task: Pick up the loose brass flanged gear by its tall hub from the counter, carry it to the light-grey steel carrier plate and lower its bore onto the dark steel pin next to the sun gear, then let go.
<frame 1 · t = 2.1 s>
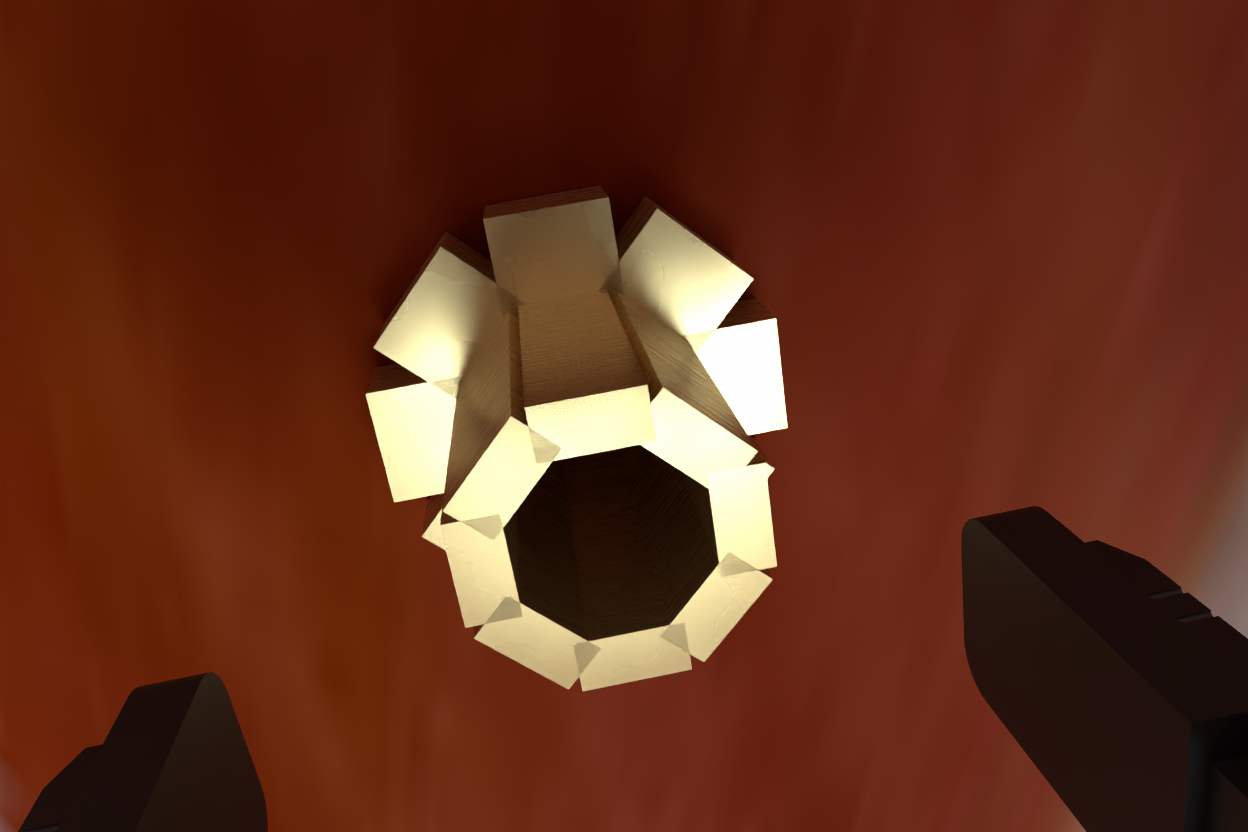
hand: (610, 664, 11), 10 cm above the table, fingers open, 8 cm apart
gear: (577, 384, 20), on the table
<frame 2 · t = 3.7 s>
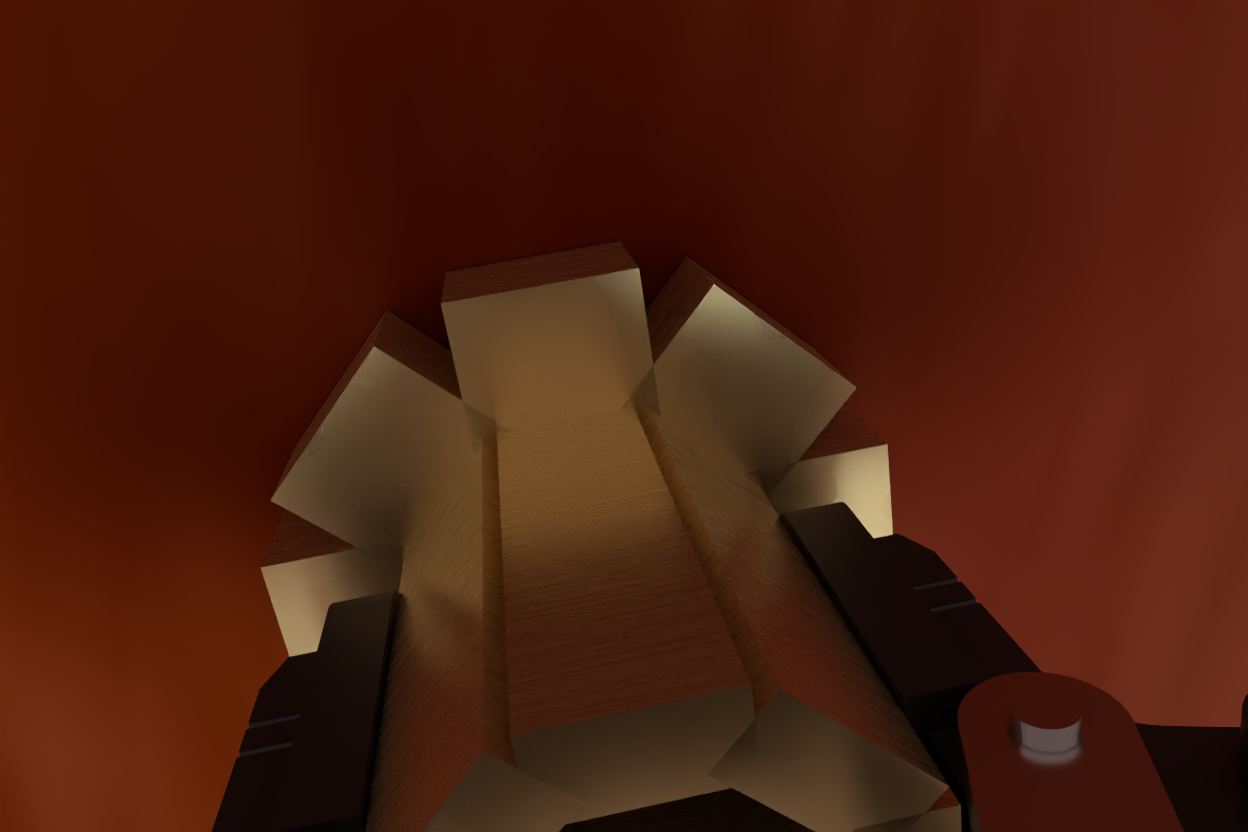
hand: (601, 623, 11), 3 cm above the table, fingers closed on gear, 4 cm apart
gear: (583, 525, 14), on the table, touching gripper
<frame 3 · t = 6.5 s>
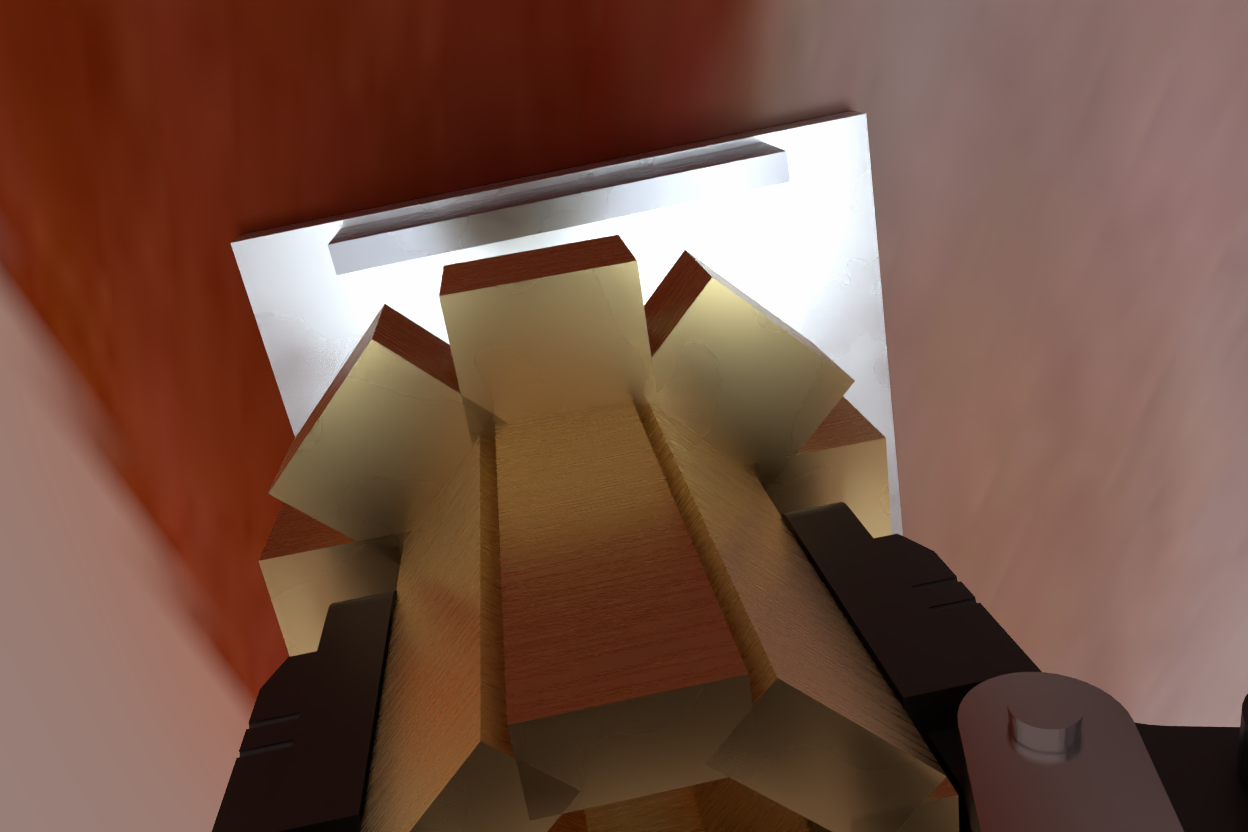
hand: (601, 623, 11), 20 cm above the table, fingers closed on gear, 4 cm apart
gear: (581, 519, 14), point 17 cm above the table, touching gripper
carrier: (616, 493, 33), on the table
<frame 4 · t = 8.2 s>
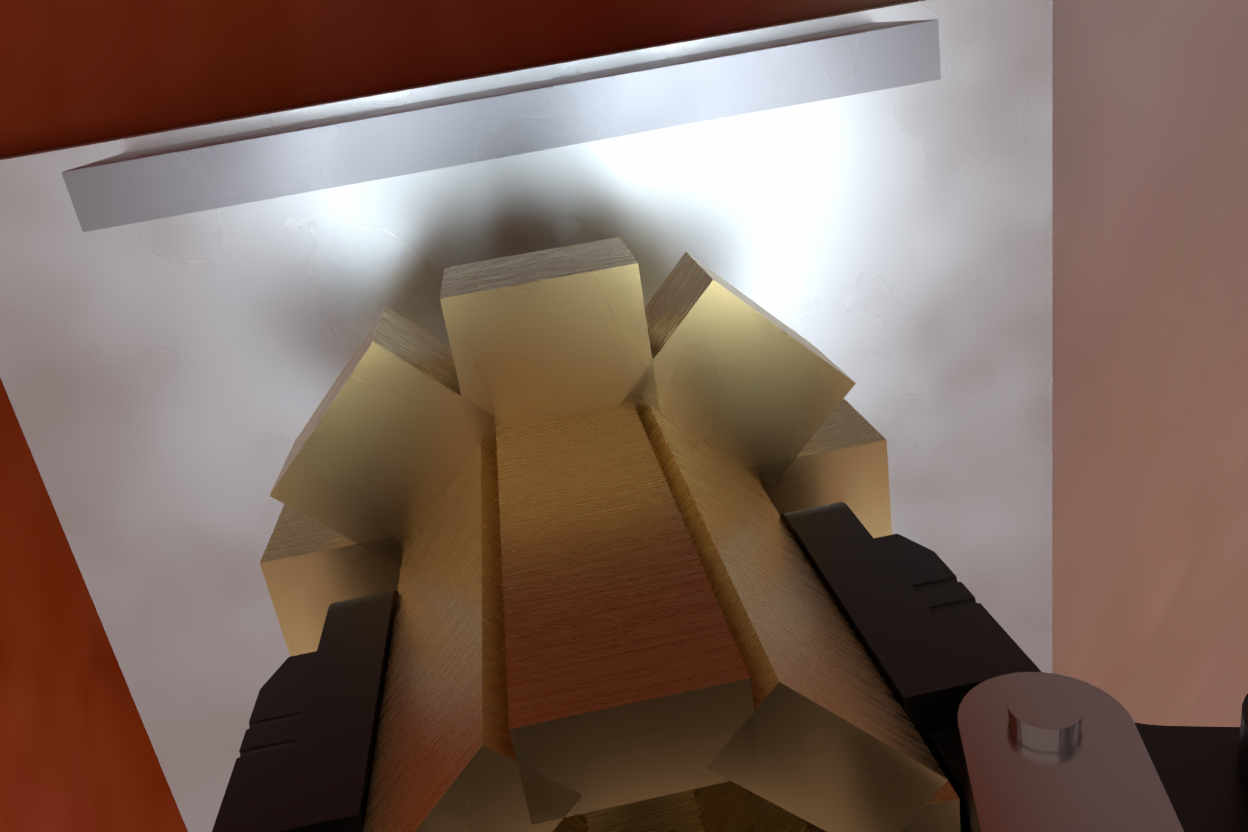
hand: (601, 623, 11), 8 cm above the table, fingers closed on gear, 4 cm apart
gear: (582, 521, 14), point 5 cm above the table, touching gripper
carrier: (606, 602, 21), on the table
when the fingers open (6 cm above the table, at t = 9.4 s): gear drops 2 cm, resting on carrier.
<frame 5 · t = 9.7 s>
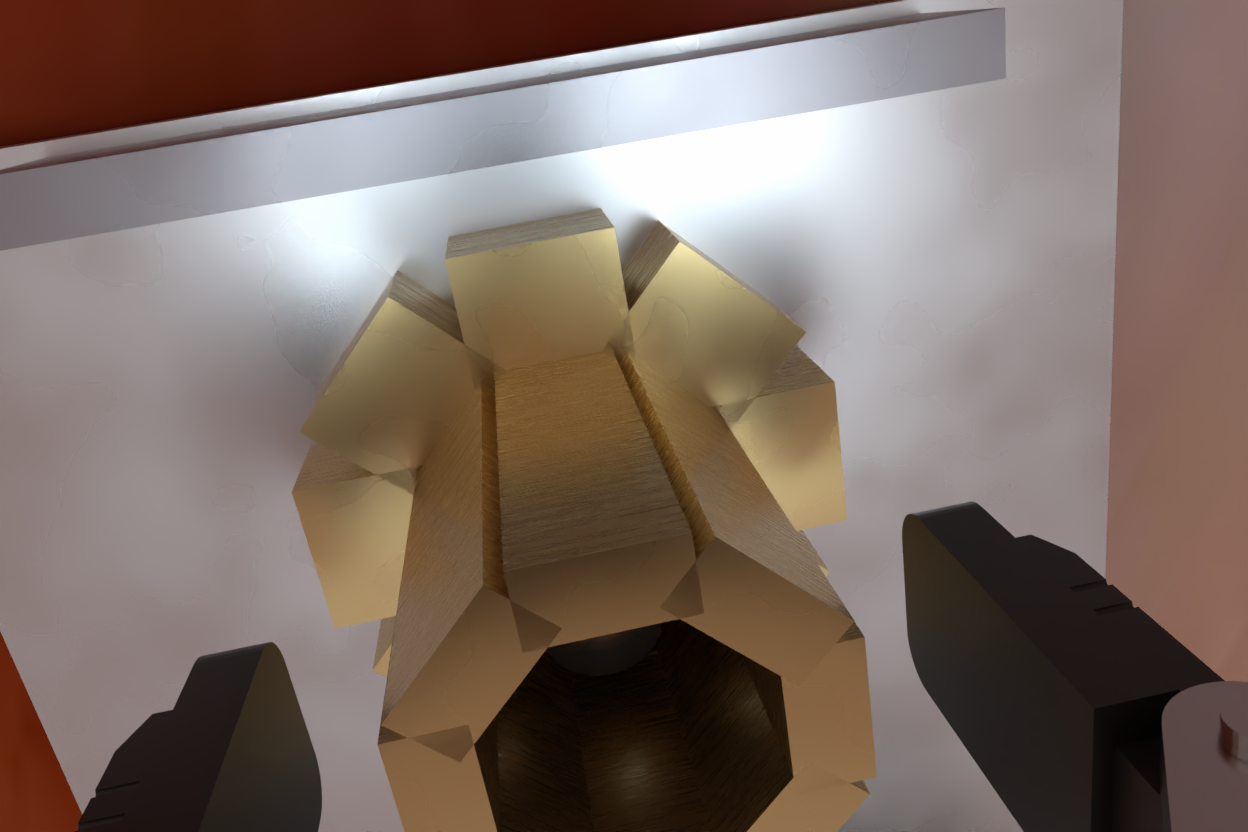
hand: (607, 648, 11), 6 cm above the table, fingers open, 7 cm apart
gear: (572, 462, 16), point 1 cm above the table, touching carrier
carrier: (604, 663, 18), on the table
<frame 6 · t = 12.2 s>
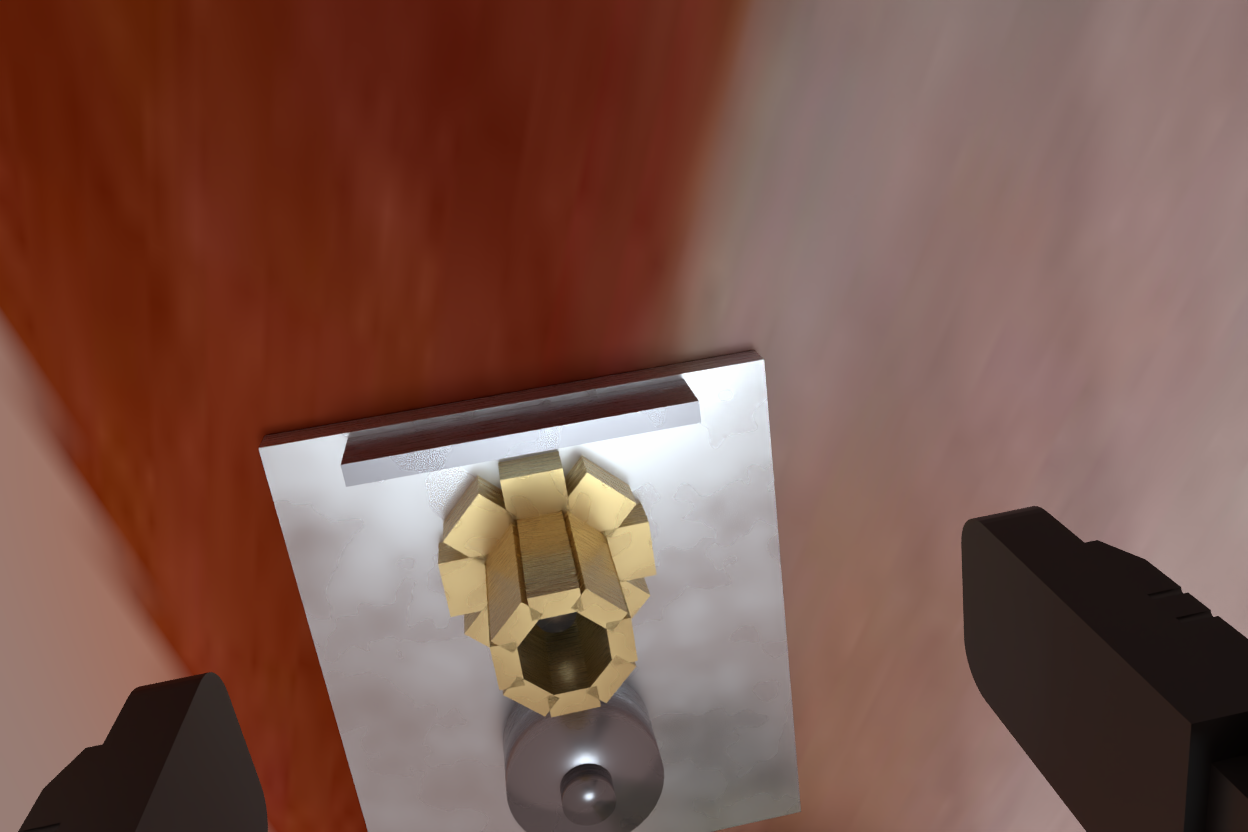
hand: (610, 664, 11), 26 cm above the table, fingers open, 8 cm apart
gear: (545, 548, 37), point 1 cm above the table, touching carrier
carrier: (559, 635, 40), on the table
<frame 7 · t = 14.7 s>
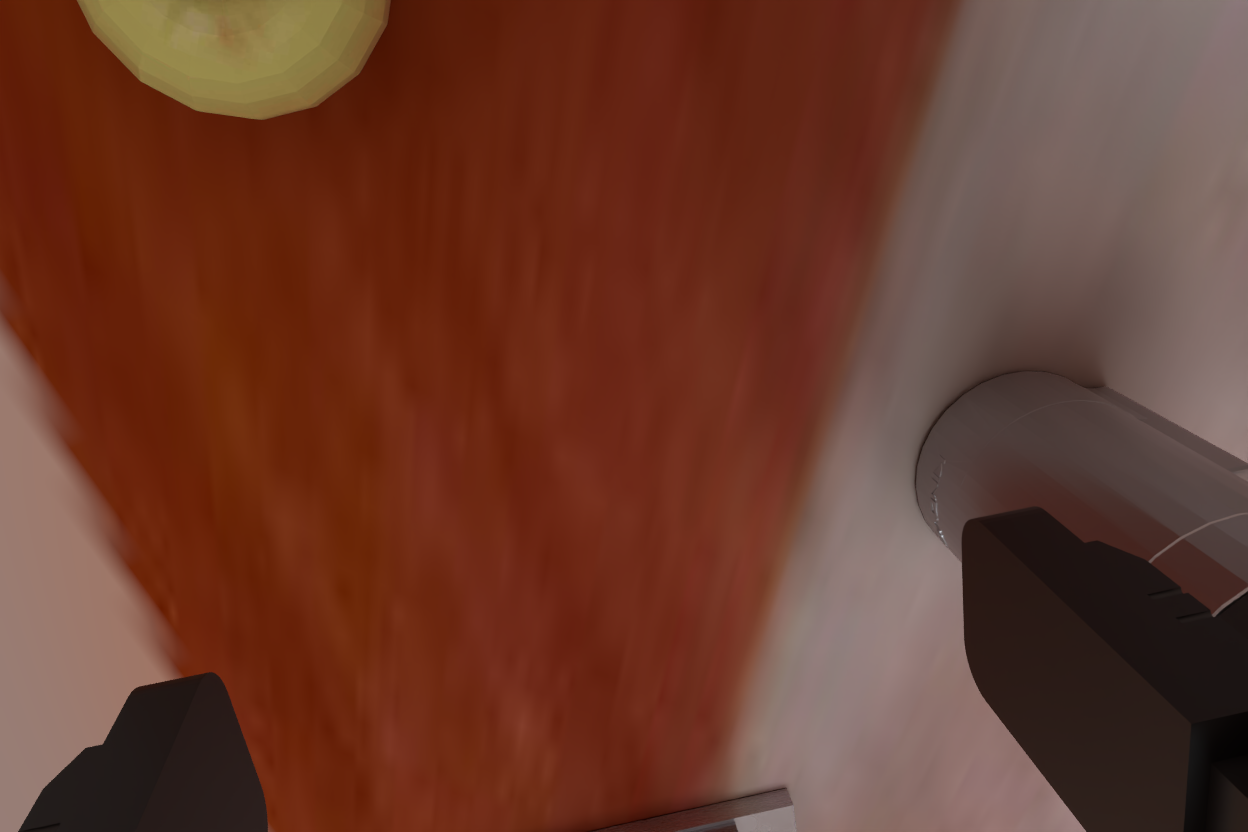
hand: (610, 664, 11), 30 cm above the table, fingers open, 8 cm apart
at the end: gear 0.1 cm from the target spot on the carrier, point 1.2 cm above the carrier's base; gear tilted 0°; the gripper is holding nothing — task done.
